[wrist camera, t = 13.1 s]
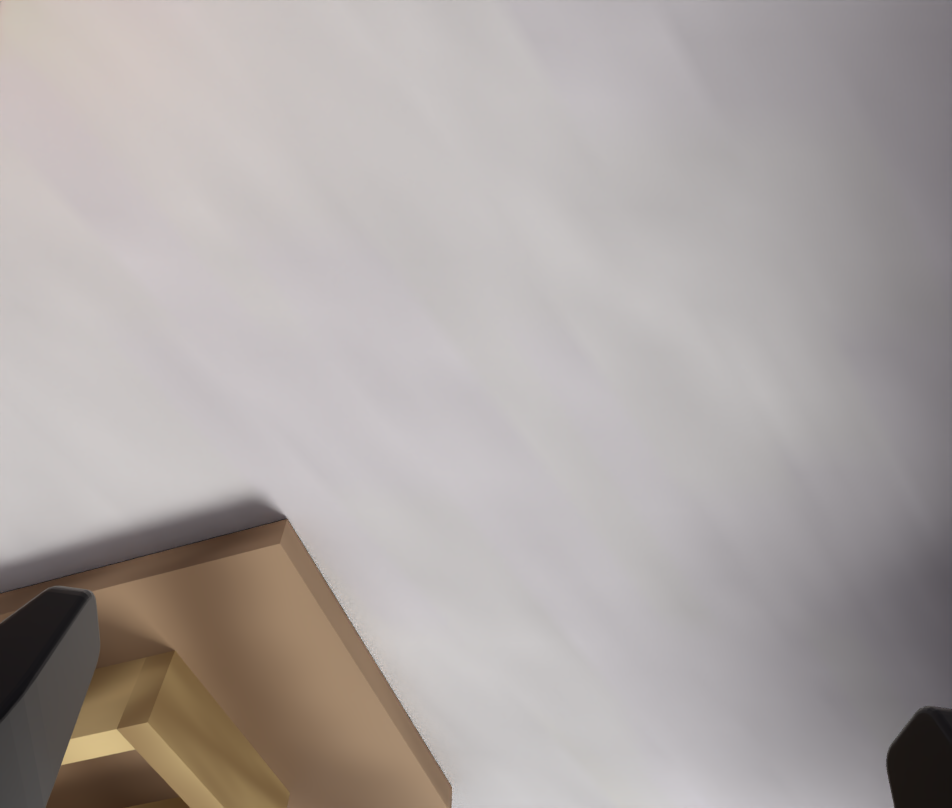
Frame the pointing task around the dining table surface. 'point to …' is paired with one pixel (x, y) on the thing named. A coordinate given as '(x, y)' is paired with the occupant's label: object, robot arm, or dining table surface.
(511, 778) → the dining table surface
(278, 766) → the brown tray
